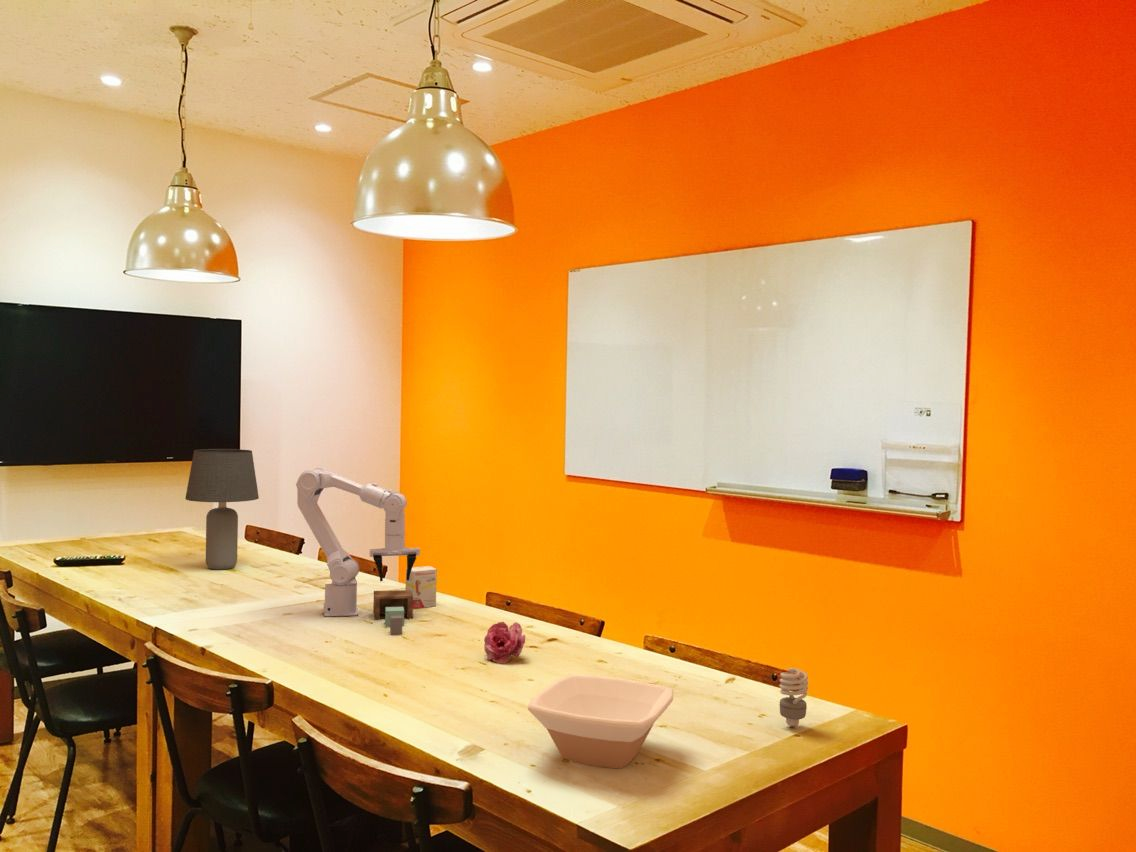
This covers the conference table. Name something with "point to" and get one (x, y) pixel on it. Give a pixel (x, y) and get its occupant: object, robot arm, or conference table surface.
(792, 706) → the light bulb
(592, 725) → the bowl
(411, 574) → the ink box
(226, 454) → the lamp
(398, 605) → the walnut cubby
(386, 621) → the block with rod
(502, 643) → the flower
